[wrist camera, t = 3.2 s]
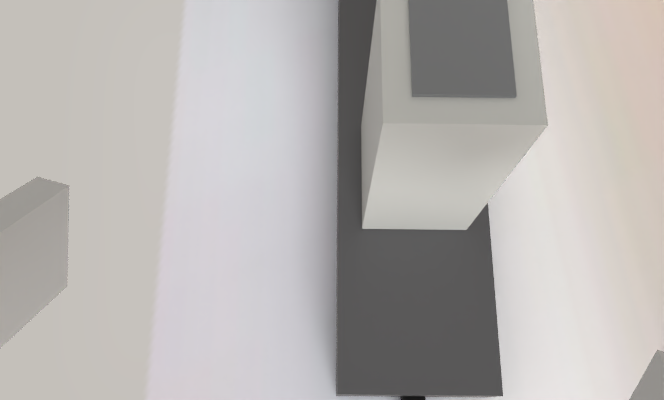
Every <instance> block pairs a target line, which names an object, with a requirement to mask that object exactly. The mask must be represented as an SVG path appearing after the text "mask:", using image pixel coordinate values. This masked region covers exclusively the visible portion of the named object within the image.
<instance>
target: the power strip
mask: <svg viewBox="0 0 664 400" xmlns="http://www.w3.org/2000/svg"><path fill="white" fill-rule="evenodd" d="M376 1H377V0H339V4H338V180H337V355H336V396H399V397H401V400H425V397H496V396H503V391H502V378H501V366H500V353H499V340H498V328H497V315H496V302H495V289H494V277H493V264H492V251H491V239H490V226H489V213H488V203H487V204H486V205H485V207H484V208H483V209H482V211H481V212H480V213H479V214H478V216H477V217H476V218H475V220H474V221H473V222H472V224H471V225H470V226H469V227H468V229H467V230H419V229H362V167H361V123H362V115H363V107H364V98H365V90H366V82H367V74H368V66H369V58H370V50H371V42H372V34H373V26H374V17H375V9H376Z"/></svg>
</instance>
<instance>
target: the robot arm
mask: <svg viewBox="0 0 664 400" xmlns="http://www.w3.org/2000/svg"><path fill="white" fill-rule="evenodd" d="M68 221H69V186H68V185H65V184H62V183H58V182H54V181H51V180H47V179H44V178H40V177H36V178H35V179H33V180H31V181H30V182H28V183H26V184H25V185H23V186H21V187H20V188H18V189H16V190H15V191H13V192H12V193H10V194H8V195H6V196H5V197H3V198H2V199H0V348H1V347H2V346H3V345H4V344H5V343H7V342H8V341H9V340H10V339H11V338H12V337H13V336H14V335H15V334H16V333H17V332H18V331H19V330H20V329H22V328H23V327H24V326H25V325H26V324H27V323H28V322H29V321H30V320H31V319H32V318H33V317H34V316H36V314H38V313H39V312H40V311H41V310H42V309H43V308H44V307H45V306H46V305H48V303H50V302H51V301H52V300H53V299H54V298H55V297H56V296H57V295H58V294H59V293H60V292H61V291H63V290H64V289H65V288H66V287H67V276H68V274H67V273H68ZM629 400H664V352H663V351H659V350H657V352H656V353H655V355H654V357H653V359H652V360H651V362H650V364H649V366H648V368H647V369H646V371H645V373H644V375H643V376H642V378H641V380H640V382H639V383H638V385H637V387H636V389H635V391H634V392H633V394H632V396H631V398H630V399H629Z"/></svg>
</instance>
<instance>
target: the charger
mask: <svg viewBox="0 0 664 400" xmlns="http://www.w3.org/2000/svg"><path fill="white" fill-rule="evenodd" d="M547 126H548V123H547V115H546V106H545V98H544V89H543V81H542V72H541V64H540V55H539V47H538V38H537V30H536V21H535V13H534V4H533V0H377V1H376V9H375V17H374V26H373V34H372V42H371V50H370V58H369V66H368V74H367V82H366V90H365V98H364V107H363V115H362V123H361V167H362V229H419V230H467V229H468V227H469V226H470V225H471V224H472V222H473V221H474V220H475V218H476V217H477V216H478V214H479V213H480V212H481V211H482V209H483V208H484V207H485V205H486V204H487V203H488V202H489V200H490V199H491V198H492V196H493V195H494V194H495V193H496V191H497V190H498V189H499V187H500V186H501V185H502V184H503V182H504V181H505V180H506V178H507V177H508V176H509V175H510V173H511V172H512V171H513V169H514V168H515V167H516V165H517V164H518V163H519V162H520V160H521V159H522V158H523V156H524V155H525V154H526V153H527V151H528V150H529V149H530V147H531V146H532V145H533V144H534V142H535V141H536V140H537V138H538V137H539V136H540V135H541V133H542V132H543V131H544V129H545V128H546V127H547Z"/></svg>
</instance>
